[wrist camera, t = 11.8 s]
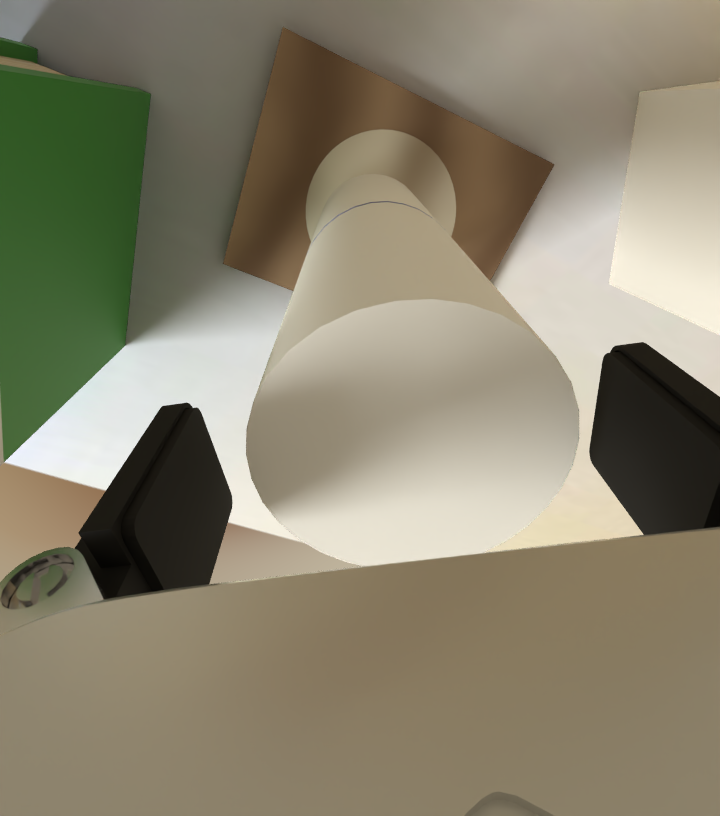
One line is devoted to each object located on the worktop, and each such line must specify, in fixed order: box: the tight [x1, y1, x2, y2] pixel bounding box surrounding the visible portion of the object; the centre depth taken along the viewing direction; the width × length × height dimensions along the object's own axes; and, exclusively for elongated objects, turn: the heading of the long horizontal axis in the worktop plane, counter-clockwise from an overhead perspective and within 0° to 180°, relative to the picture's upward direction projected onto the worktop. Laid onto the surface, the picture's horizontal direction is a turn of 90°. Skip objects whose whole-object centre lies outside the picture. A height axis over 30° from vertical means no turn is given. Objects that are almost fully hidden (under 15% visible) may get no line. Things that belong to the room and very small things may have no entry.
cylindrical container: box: [246, 174, 579, 566], centre depth 21 cm, size 7×7×25 cm
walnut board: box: [223, 27, 554, 291], centre depth 32 cm, size 18×14×1 cm
